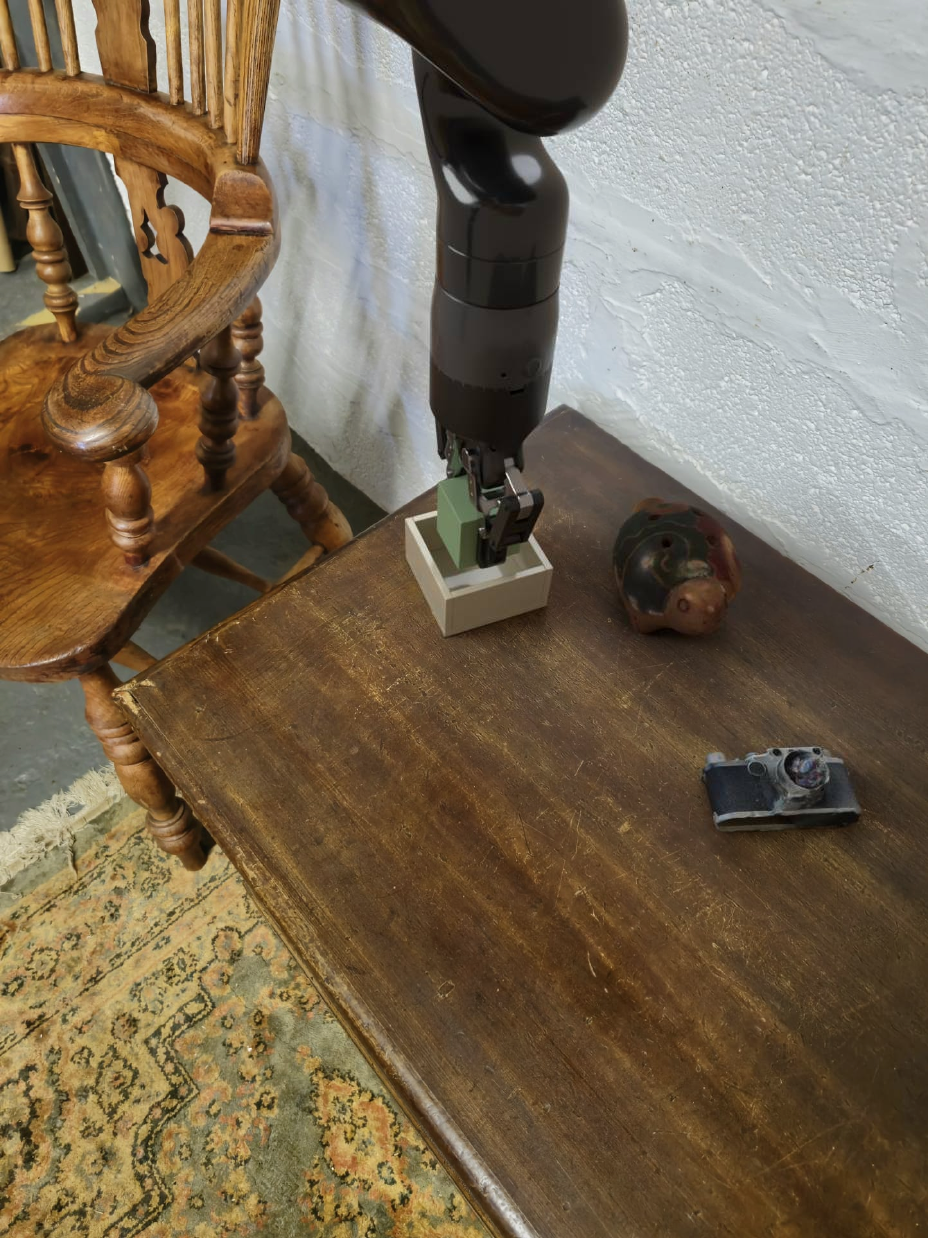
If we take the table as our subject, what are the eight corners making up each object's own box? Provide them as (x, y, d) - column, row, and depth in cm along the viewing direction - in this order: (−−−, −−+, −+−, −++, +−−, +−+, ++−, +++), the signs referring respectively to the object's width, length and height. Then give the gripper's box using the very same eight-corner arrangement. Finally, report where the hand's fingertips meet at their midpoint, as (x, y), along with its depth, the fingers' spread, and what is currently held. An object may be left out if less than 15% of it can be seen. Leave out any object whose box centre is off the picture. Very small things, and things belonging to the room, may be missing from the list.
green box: (458, 570, 63) (460, 523, 59) (436, 529, 65) (437, 481, 61) (519, 553, 64) (526, 506, 60) (495, 513, 66) (500, 465, 62)
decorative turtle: (639, 687, 63) (655, 617, 57) (580, 547, 72) (588, 474, 66) (763, 665, 64) (791, 593, 58) (688, 530, 73) (705, 456, 67)
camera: (690, 764, 59) (706, 733, 56) (834, 760, 60) (859, 730, 56) (706, 832, 56) (725, 804, 52) (858, 828, 56) (885, 800, 53)
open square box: (444, 637, 65) (445, 600, 61) (405, 557, 70) (404, 518, 66) (546, 606, 67) (553, 568, 63) (502, 531, 72) (506, 491, 68)
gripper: (393, 293, 54) (398, 489, 67) (481, 432, 46) (467, 623, 59) (501, 272, 56) (485, 467, 69) (603, 403, 48) (563, 594, 61)
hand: (477, 538), depth 64 cm, fingers closed on green box, 4 cm apart
